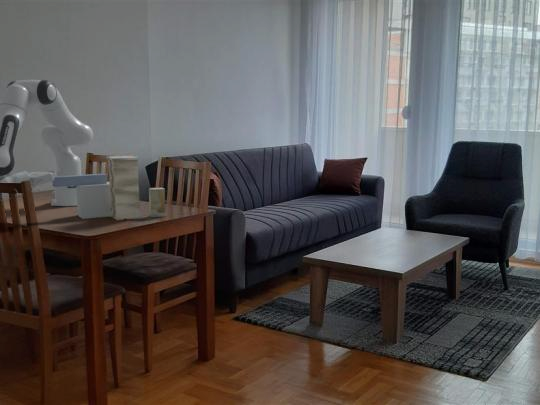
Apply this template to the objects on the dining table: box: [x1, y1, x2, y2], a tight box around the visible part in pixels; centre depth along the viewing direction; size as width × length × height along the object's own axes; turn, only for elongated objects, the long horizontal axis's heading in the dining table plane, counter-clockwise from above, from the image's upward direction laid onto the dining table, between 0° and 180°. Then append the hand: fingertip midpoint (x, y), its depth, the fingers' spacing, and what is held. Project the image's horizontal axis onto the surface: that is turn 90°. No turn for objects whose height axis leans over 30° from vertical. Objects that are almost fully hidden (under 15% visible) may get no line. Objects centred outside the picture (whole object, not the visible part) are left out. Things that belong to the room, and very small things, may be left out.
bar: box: [51, 173, 108, 188], centre depth 266 cm, size 4×22×4 cm, turn 117°
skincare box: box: [148, 187, 166, 218], centre depth 268 cm, size 6×4×12 cm
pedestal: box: [106, 155, 141, 221], centre depth 264 cm, size 11×11×26 cm
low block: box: [76, 181, 111, 220], centre depth 270 cm, size 10×14×14 cm
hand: (57, 172), depth 263 cm, fingers open, 8 cm apart
